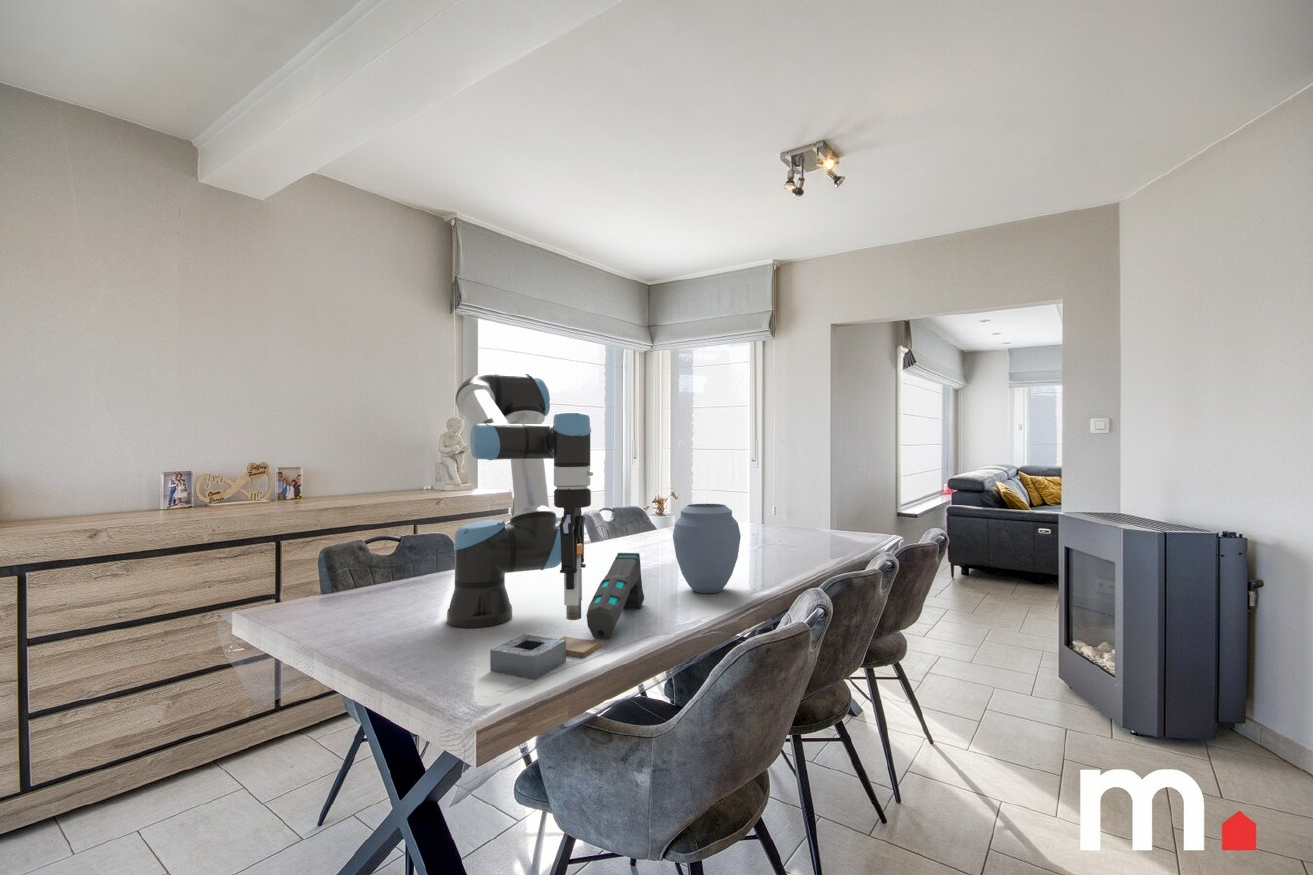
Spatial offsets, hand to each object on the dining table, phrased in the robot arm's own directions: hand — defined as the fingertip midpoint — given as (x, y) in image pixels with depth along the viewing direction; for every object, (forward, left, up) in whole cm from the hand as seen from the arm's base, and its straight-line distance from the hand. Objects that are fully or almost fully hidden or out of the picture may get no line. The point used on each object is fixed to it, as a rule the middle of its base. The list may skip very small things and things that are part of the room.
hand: (573, 602), depth 122 cm
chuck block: (-3, -11, -10) cm, 15 cm away
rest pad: (0, 0, -10) cm, 10 cm away
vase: (+8, +58, -10) cm, 59 cm away
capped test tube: (0, 0, -3) cm, 3 cm away
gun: (-1, +22, -10) cm, 24 cm away
